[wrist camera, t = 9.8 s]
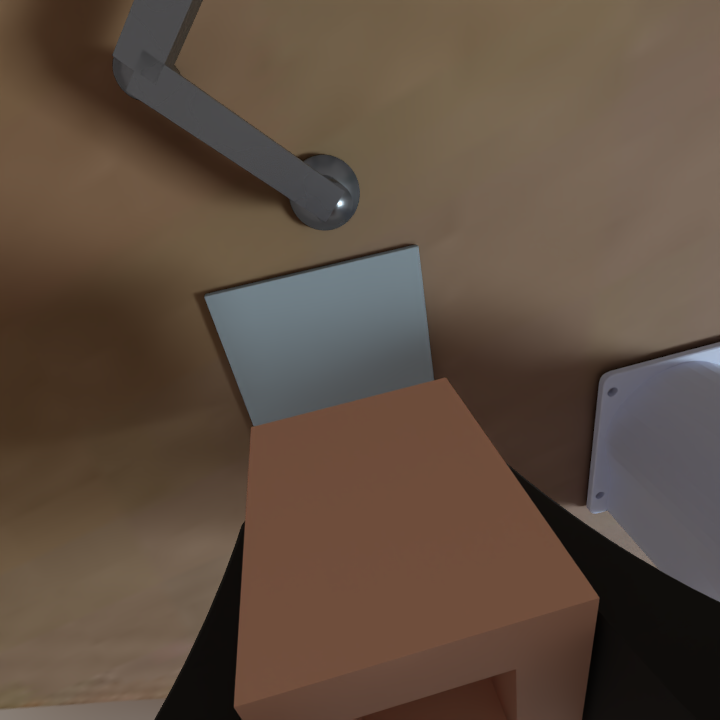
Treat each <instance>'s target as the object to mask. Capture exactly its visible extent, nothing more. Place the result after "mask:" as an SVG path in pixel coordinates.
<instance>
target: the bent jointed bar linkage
mask: <svg viewBox="0 0 720 720" xmlns="http://www.w3.org/2000/svg"><path fill="white" fill-rule="evenodd" d="M202 1H203V0H134V2H133V5H132V7H131V10H130V12H129V15H128V17H127V20H126V22H125V25H124V27H123V30H122V32H121V35H120V37H119V40H118V42H117V45H116V47H115V50H114V52H113V55H112V56H114V58H113V73H114V76H115V79H116V81H117V83H118V84H119V86H120V87H121V89H122V90H123V91H124V92H125V93H126V94H128V95H129V96H131V97H132V98H134V99H137V100H140V101H142V102H143V103H145V104H147V105H148V106H150V107H151V108H153V109H154V110H156V111H157V112H159V113H160V114H162V115H163V116H165V117H166V118H168V119H169V120H171V121H172V122H174V123H175V124H177V125H178V126H180V127H182V128H183V129H185V130H186V131H188V132H189V133H191V134H192V135H194V136H195V137H197V138H198V139H200V140H201V141H203V142H204V143H206V144H207V145H209V146H210V147H212V148H213V149H215V150H216V151H218V152H220V153H221V154H223V155H224V156H226V157H227V158H229V159H230V160H232V161H233V162H235V163H236V164H238V165H239V166H241V167H242V168H244V169H245V170H247V171H248V172H250V173H251V174H253V175H255V176H256V177H258V178H259V179H261V180H262V181H264V182H265V183H267V184H268V185H270V186H271V187H273V188H274V189H276V190H277V191H279V192H280V193H282V194H283V195H285V196H286V197H288V198H289V200H290V203H291V206H292V209H293V211H294V212H295V214H296V216H297V217H298V218H299V219H300V220H301V221H302V222H303V223H304V224H306V225H307V226H309V227H311V228H314V229H318V230H332V229H335V228H338V227H340V226H342V225H344V224H345V223H346V222H347V221H348V220H349V219H350V218H351V217H352V216H353V214H354V213H355V211H356V209H357V206H358V203H359V197H360V190H359V184H358V180H357V178H356V176H355V174H354V172H353V171H352V169H351V168H350V167H349V166H348V165H347V164H346V163H345V162H344V161H342V160H340V159H338V158H336V157H334V156H331V155H315V156H312V157H309V158H307V159H306V160H304V161H302V160H301V159H299V158H298V157H296V156H295V155H293V154H292V153H291V152H289V151H288V150H286V149H285V148H284V147H282V146H281V145H279V144H278V143H276V142H275V141H274V140H272V139H271V138H269V137H268V136H267V135H265V134H264V133H262V132H261V131H259V130H258V129H257V128H255V127H254V126H252V125H251V124H249V123H248V122H247V121H245V120H244V119H242V118H241V117H240V116H238V115H237V114H235V113H234V112H232V111H231V110H230V109H228V108H227V107H225V106H224V105H223V104H221V103H220V102H218V101H217V100H215V99H214V98H213V97H211V96H210V95H208V94H207V93H206V92H204V91H203V90H201V89H200V88H198V87H197V86H196V85H194V84H193V83H191V82H190V81H189V80H187V79H186V78H184V77H183V76H181V74H180V72H179V70H178V69H177V68H176V66H175V65H174V64H175V62H176V60H177V57H178V55H179V53H180V51H181V48H182V46H183V44H184V42H185V39H186V37H187V35H188V33H189V30H190V28H191V26H192V24H193V21H194V19H195V17H196V15H197V12H198V10H199V8H200V6H201V3H202Z"/></svg>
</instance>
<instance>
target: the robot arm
mask: <svg viewBox="0 0 720 720" xmlns="http://www.w3.org/2000/svg"><path fill="white" fill-rule="evenodd" d="M610 389H611V390H610ZM609 390H610V391H609ZM506 464H507V463H506ZM507 466H508V467H509V468H510V470H511V471H512V473H513V474H514V476H515V477H516V479H517V480H518V481H519V483H520V484H521V486H522V487H523V489H524V490H525V491H526V493H527V494H528V496H529V497H530V499H531V500H532V501H533V503H534V504H535V506H536V507H537V509H538V510H539V511H540V513H541V514H542V516H543V517H544V519H545V520H546V522H547V523H548V524H549V526H550V527H551V529H552V530H553V532H554V533H555V534H556V536H557V537H558V539H559V540H560V542H561V543H562V544H563V546H564V547H565V549H566V550H567V552H568V553H569V554H570V556H571V557H572V559H573V560H574V562H575V563H576V565H577V566H578V567H579V569H580V570H581V572H582V573H583V575H584V576H585V577H586V579H587V580H588V582H589V583H590V585H591V586H592V587H593V589H594V590H595V592H596V593H597V595H598V596H599V598H600V599H599V606H598V613H597V619H596V626H595V633H594V640H593V647H592V654H591V660H590V667H589V674H588V681H587V688H586V695H585V702H584V708H583V715H582V720H720V342H718V343H714V344H710V345H706V346H702V347H699V348H695V349H691V350H687V351H684V352H680V353H676V354H672V355H668V356H665V357H661V358H657V359H653V360H649V361H646V362H642V363H638V364H634V365H630V366H627V367H623V368H619V369H615V370H612V371H609V372H606V373H605V374H603V375H602V377H601V378H600V381H599V388H598V398H597V407H596V417H595V427H594V437H593V447H592V456H591V466H590V476H589V486H588V496H587V508H588V509H589V511H590V512H591V513H600V512H604V511H607V510H608V512H609V513H610V514H611V515H612V516H613V517H614V519H615V520H616V521H617V522H618V523H619V524H620V525H621V527H622V528H623V529H624V530H625V531H626V532H627V533H628V534H629V536H630V537H631V538H632V539H633V540H634V541H635V542H636V544H637V545H638V546H639V547H640V548H641V549H642V550H643V552H644V553H645V554H646V555H647V556H648V557H649V558H650V560H651V561H652V562H653V563H654V564H655V565H656V566H657V568H658V569H659V570H658V569H657V568H655V567H653V566H651V565H650V564H648V563H646V562H645V561H643V560H641V559H639V558H638V557H636V556H634V555H633V554H631V553H630V552H628V551H626V550H625V549H623V548H621V547H620V546H618V545H617V544H615V543H614V542H612V541H610V540H609V539H607V538H606V537H604V536H603V535H601V534H600V533H598V532H597V531H595V530H594V529H592V528H591V527H589V526H588V525H587V524H585V523H584V522H582V521H581V520H579V519H578V518H577V517H575V516H574V515H572V514H571V513H570V512H568V511H567V510H566V509H564V508H563V507H561V506H560V505H559V504H557V503H556V502H555V501H553V500H552V499H551V498H549V497H548V496H547V495H545V494H544V493H543V492H541V491H540V490H539V489H538V488H536V487H535V486H534V485H533V484H531V483H530V482H529V481H527V480H526V479H525V478H524V477H522V476H521V475H520V474H519V473H518V472H516V471H515V470H514V469H513V468H511V467H510V466H509V465H508V464H507ZM244 533H245V521H244V523H243V524H242V526H241V529H240V532H239V535H238V538H237V541H236V544H235V547H234V550H233V552H232V555H231V558H230V561H229V563H228V566H227V568H226V571H225V574H224V576H223V579H222V581H221V584H220V586H219V588H218V591H217V593H216V596H215V598H214V600H213V603H212V605H211V608H210V610H209V612H208V615H207V617H206V619H205V621H204V623H203V626H202V628H201V630H200V632H199V634H198V636H197V638H196V640H195V643H194V645H193V647H192V649H191V651H190V653H189V655H188V657H187V659H186V661H185V664H184V665H183V667H182V669H181V671H180V673H179V675H178V677H177V679H176V681H175V683H174V685H173V687H172V689H171V691H170V692H169V694H168V696H167V698H166V700H165V702H164V703H163V705H162V707H161V709H160V711H159V712H158V714H157V716H156V718H155V720H242V719H241V717H240V716H239V714H238V713H237V711H236V710H235V708H234V696H235V679H236V663H237V647H238V630H239V614H240V598H241V582H242V565H243V549H244Z"/></svg>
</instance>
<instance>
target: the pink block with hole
mask: <svg viewBox="0 0 720 720" xmlns="http://www.w3.org/2000/svg"><path fill="white" fill-rule="evenodd" d="M599 599H600V598H599V596H598V595H597V593H596V592H595V590H594V589H593V587H592V586H591V585H590V583H589V582H588V580H587V579H586V577H585V576H584V575H583V573H582V572H581V570H580V569H579V567H578V566H577V565H576V563H575V562H574V560H573V559H572V557H571V556H570V554H569V553H568V552H567V550H566V549H565V547H564V546H563V544H562V543H561V542H560V540H559V539H558V537H557V536H556V534H555V533H554V532H553V530H552V529H551V527H550V526H549V524H548V523H547V522H546V520H545V519H544V517H543V516H542V514H541V513H540V511H539V510H538V509H537V507H536V506H535V504H534V503H533V501H532V500H531V499H530V497H529V496H528V494H527V493H526V491H525V490H524V489H523V487H522V486H521V484H520V483H519V481H518V480H517V479H516V477H515V476H514V474H513V473H512V471H511V470H510V468H509V467H508V466H507V464H506V463H505V461H504V460H503V458H502V457H501V456H500V454H499V453H498V451H497V450H496V448H495V447H494V446H493V444H492V443H491V441H490V440H489V438H488V437H487V435H486V434H485V433H484V431H483V430H482V428H481V427H480V425H479V424H478V423H477V421H476V420H475V418H474V417H473V415H472V414H471V413H470V411H469V410H468V408H467V407H466V405H465V404H464V403H463V401H462V400H461V398H460V397H459V395H458V394H457V392H456V391H455V390H454V388H453V387H452V385H451V384H450V382H449V381H448V380H447V378H446V377H445V378H441V379H437V380H433V381H430V382H426V383H422V384H418V385H414V386H410V387H406V388H402V389H398V390H394V391H391V392H387V393H383V394H379V395H375V396H371V397H367V398H363V399H359V400H355V401H352V402H348V403H344V404H340V405H336V406H332V407H328V408H324V409H320V410H316V411H313V412H309V413H305V414H301V415H297V416H293V417H289V418H285V419H281V420H277V421H274V422H270V423H266V424H262V425H258V426H254V427H251V435H250V452H249V468H248V484H247V500H246V517H245V533H244V549H243V565H242V582H241V598H240V614H239V630H238V647H237V663H236V679H235V696H234V708H235V710H236V711H237V713H238V714H239V716H240V717H241V719H242V720H582V715H583V708H584V702H585V695H586V688H587V681H588V674H589V667H590V660H591V654H592V647H593V640H594V633H595V626H596V619H597V613H598V606H599Z"/></svg>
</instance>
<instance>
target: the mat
mask: <svg viewBox="0 0 720 720" xmlns="http://www.w3.org/2000/svg"><path fill="white" fill-rule="evenodd" d="M204 298H205V300H206V303H207V305H208V308H209V311H210V313H211V316H212V319H213V321H214V324H215V326H216V329H217V332H218V334H219V337H220V339H221V342H222V345H223V347H224V350H225V353H226V355H227V358H228V360H229V363H230V366H231V368H232V371H233V373H234V376H235V379H236V381H237V384H238V387H239V389H240V392H241V394H242V397H243V400H244V402H245V405H246V408H247V410H248V413H249V415H250V418H251V421H252V423H253V426H258V425H262V424H266V423H270V422H274V421H277V420H281V419H285V418H289V417H293V416H297V415H301V414H305V413H309V412H313V411H316V410H320V409H324V408H328V407H332V406H336V405H340V404H344V403H348V402H352V401H355V400H359V399H363V398H367V397H371V396H375V395H379V394H383V393H387V392H391V391H394V390H398V389H402V388H406V387H410V386H414V385H418V384H422V383H426V382H430V381H433V380H434V375H433V366H432V358H431V350H430V341H429V333H428V324H427V316H426V307H425V299H424V290H423V282H422V273H421V265H420V256H419V248H418V246H417V245H412V246H407V247H403V248H399V249H395V250H390V251H386V252H382V253H378V254H373V255H369V256H365V257H361V258H356V259H352V260H348V261H344V262H339V263H335V264H331V265H327V266H322V267H318V268H314V269H310V270H305V271H301V272H297V273H293V274H288V275H284V276H280V277H276V278H271V279H267V280H263V281H259V282H254V283H250V284H246V285H242V286H237V287H233V288H229V289H225V290H220V291H216V292H212V293H208V294H205V296H204Z"/></svg>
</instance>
